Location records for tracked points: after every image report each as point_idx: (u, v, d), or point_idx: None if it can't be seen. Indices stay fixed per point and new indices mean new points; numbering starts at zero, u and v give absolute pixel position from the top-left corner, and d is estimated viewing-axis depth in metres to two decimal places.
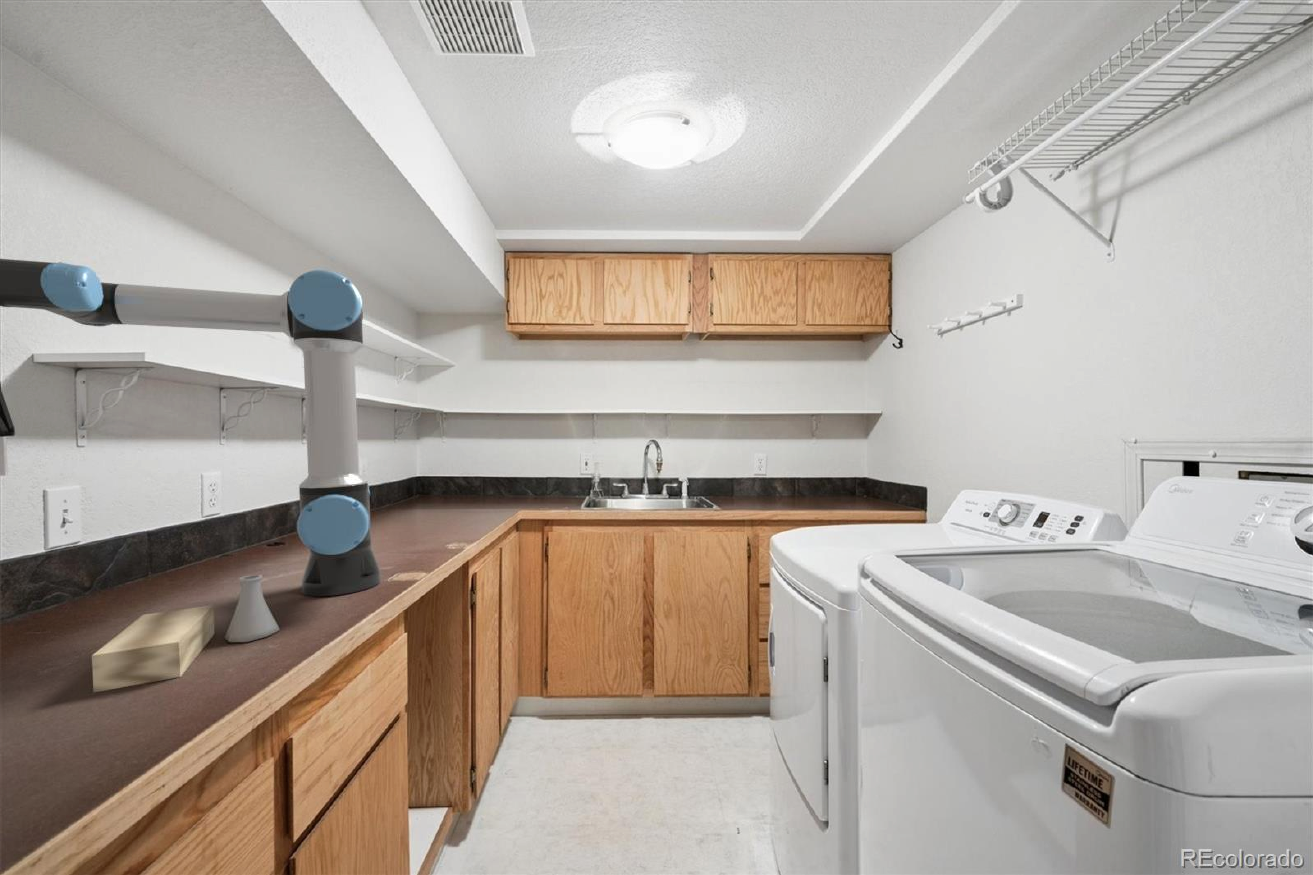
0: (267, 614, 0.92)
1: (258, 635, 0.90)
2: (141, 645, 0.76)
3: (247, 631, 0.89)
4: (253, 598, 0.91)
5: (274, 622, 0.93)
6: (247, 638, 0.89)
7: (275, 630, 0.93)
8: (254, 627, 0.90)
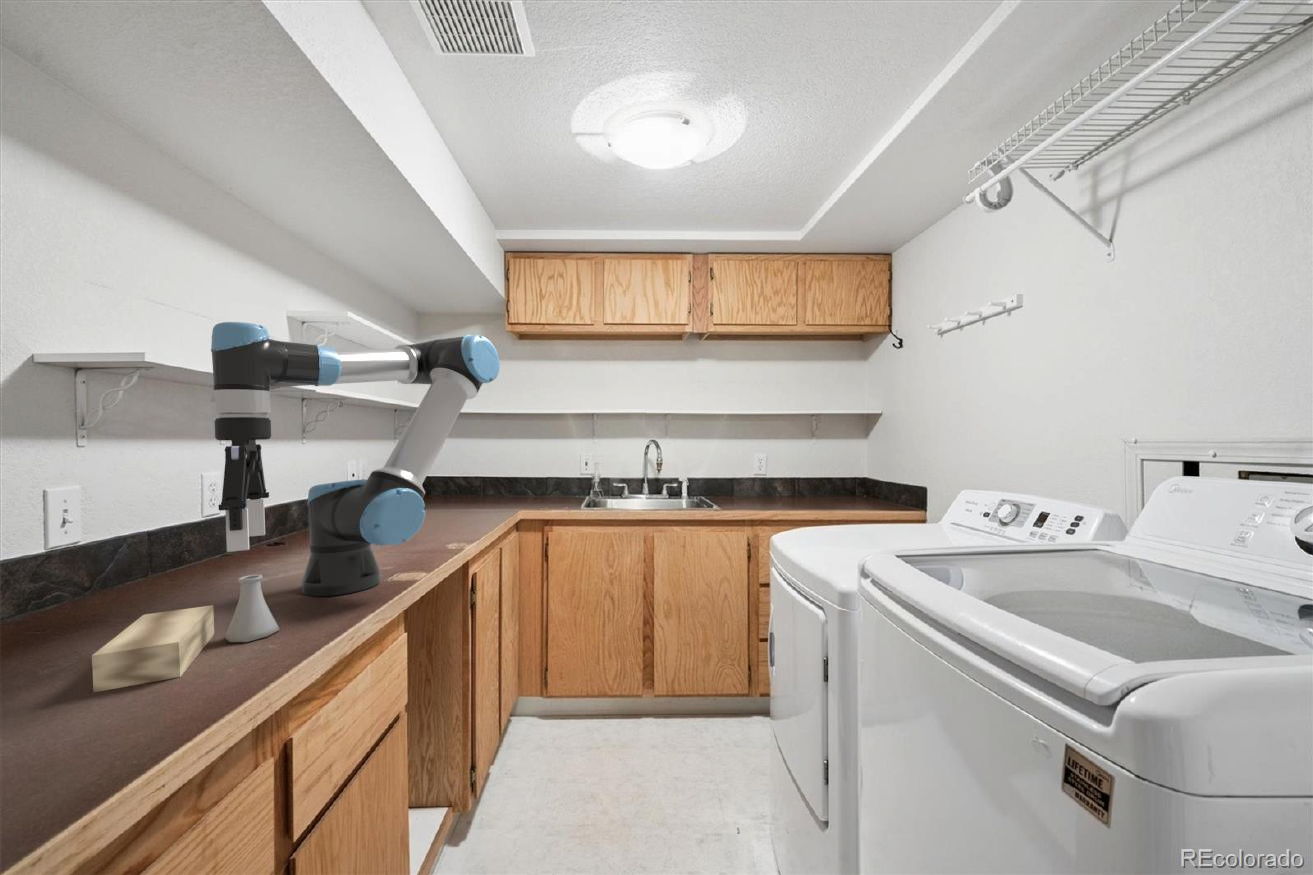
0: (267, 614, 0.92)
1: (258, 635, 0.90)
2: (141, 645, 0.76)
3: (247, 631, 0.89)
4: (253, 598, 0.91)
5: (274, 622, 0.93)
6: (247, 638, 0.89)
7: (275, 630, 0.93)
8: (254, 627, 0.90)
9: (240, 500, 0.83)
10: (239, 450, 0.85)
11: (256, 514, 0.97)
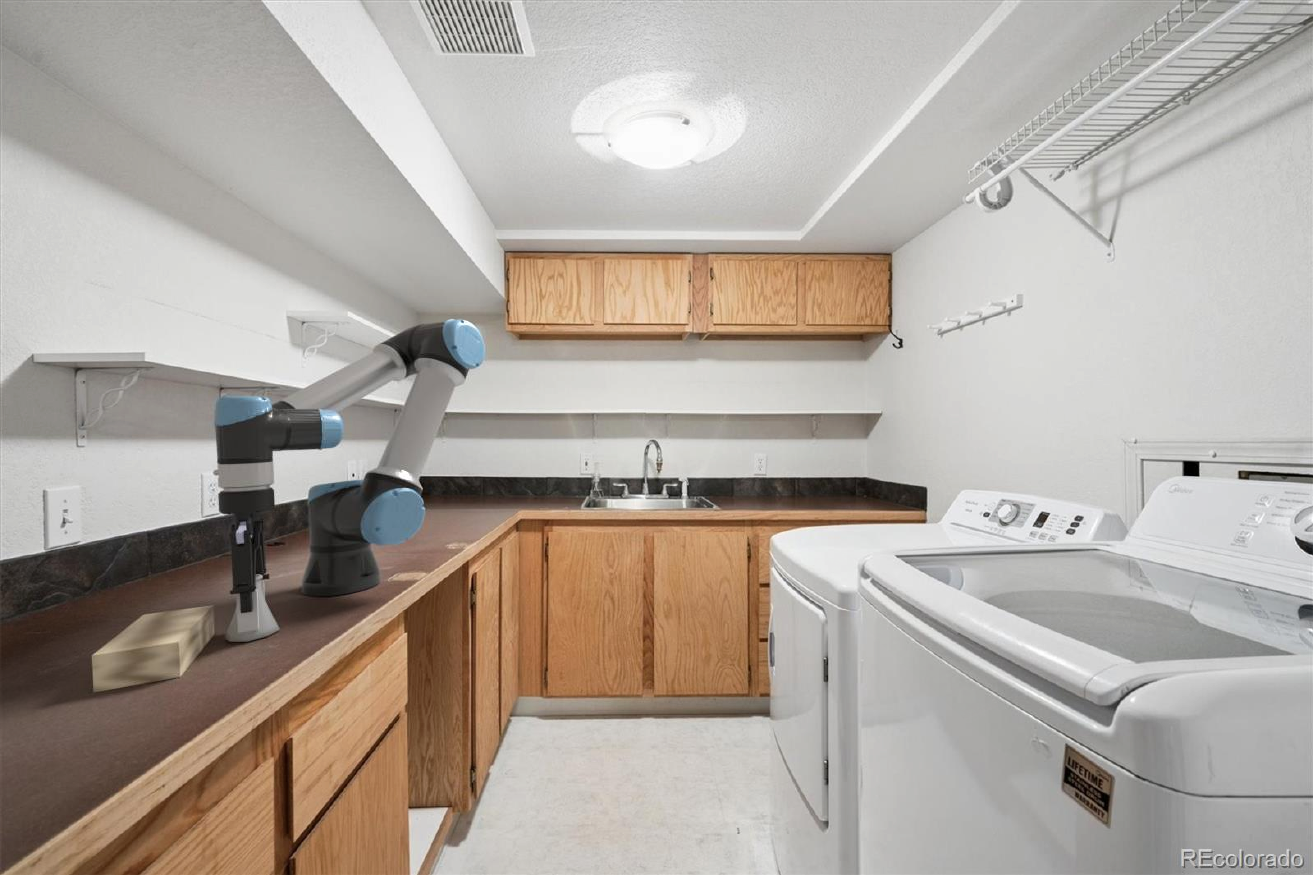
0: (267, 614, 0.92)
1: (258, 635, 0.90)
2: (141, 645, 0.76)
3: (247, 631, 0.89)
4: None
5: (274, 622, 0.93)
6: (247, 638, 0.89)
7: (275, 630, 0.93)
8: None
9: (250, 586, 0.87)
10: (244, 536, 0.86)
11: None
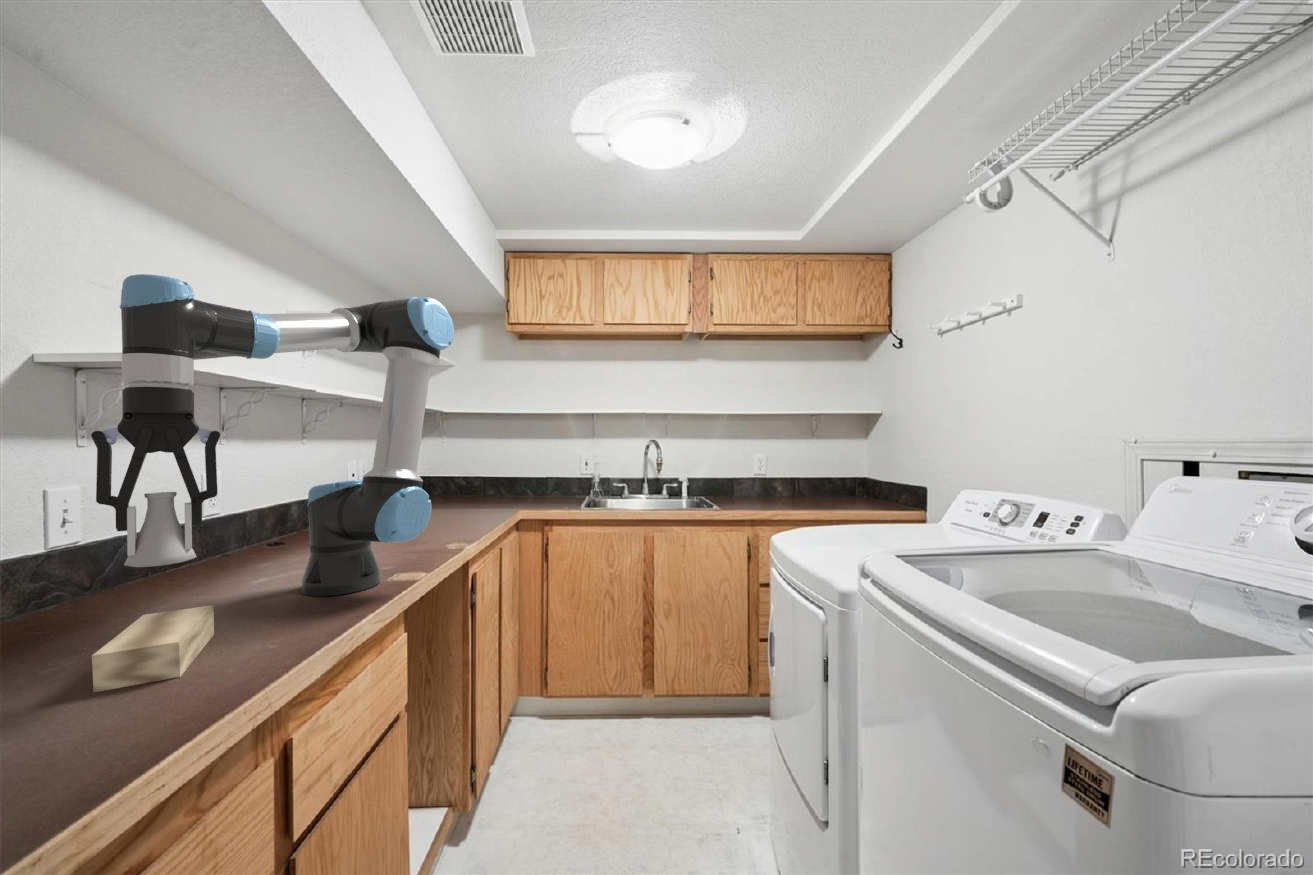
0: (153, 542, 0.75)
1: (131, 562, 0.74)
2: (141, 645, 0.76)
3: None
4: (148, 518, 0.76)
5: (156, 554, 0.74)
6: (126, 561, 0.75)
7: (151, 564, 0.74)
8: None
9: (96, 499, 0.72)
10: None
11: None
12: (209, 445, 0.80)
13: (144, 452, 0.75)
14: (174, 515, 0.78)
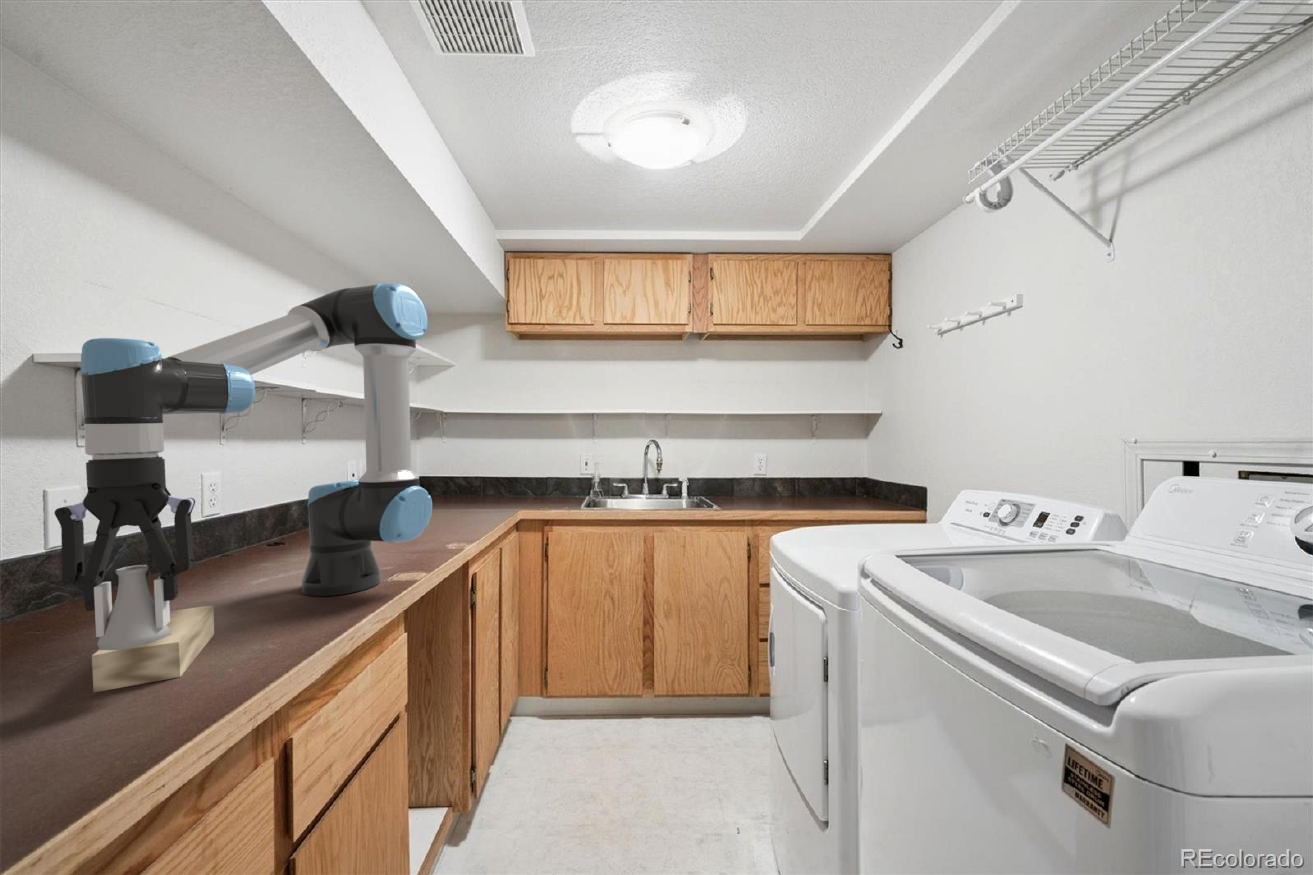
0: (119, 622, 0.71)
1: (100, 643, 0.70)
2: (141, 645, 0.76)
3: None
4: (118, 595, 0.72)
5: (121, 637, 0.70)
6: (99, 641, 0.71)
7: (115, 647, 0.70)
8: None
9: (62, 579, 0.69)
10: None
11: None
12: (178, 516, 0.74)
13: (108, 528, 0.70)
14: (146, 591, 0.73)
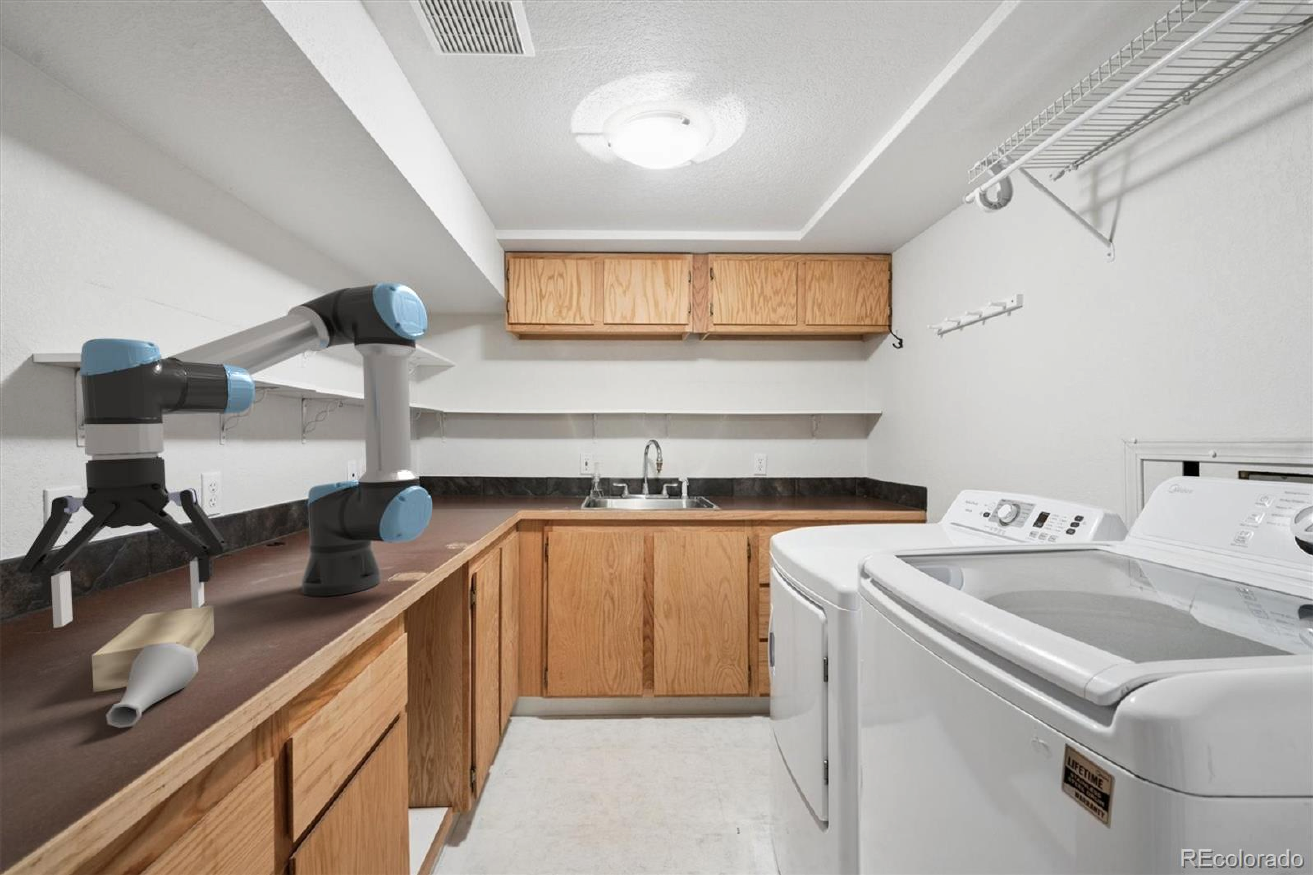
0: None
1: (137, 658, 0.71)
2: (141, 645, 0.76)
3: (142, 654, 0.70)
4: (127, 692, 0.66)
5: None
6: (145, 649, 0.71)
7: None
8: (137, 663, 0.70)
9: (19, 566, 0.67)
10: None
11: None
12: (186, 506, 0.74)
13: (96, 526, 0.70)
14: None
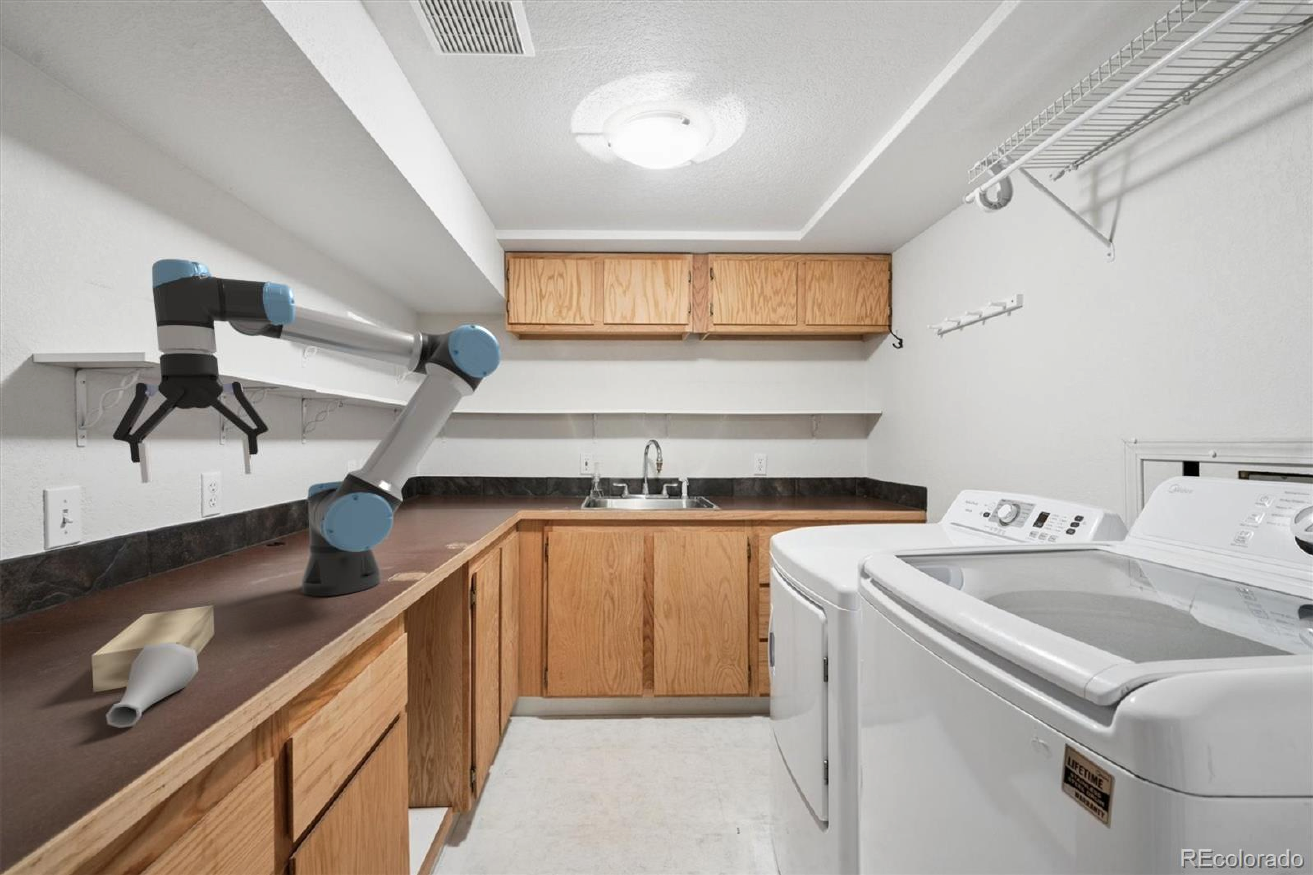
0: None
1: (137, 658, 0.71)
2: (141, 645, 0.76)
3: (142, 655, 0.70)
4: (126, 692, 0.66)
5: None
6: (144, 649, 0.71)
7: None
8: (137, 663, 0.70)
9: (114, 434, 0.87)
10: None
11: None
12: (237, 394, 0.95)
13: (170, 406, 0.90)
14: None
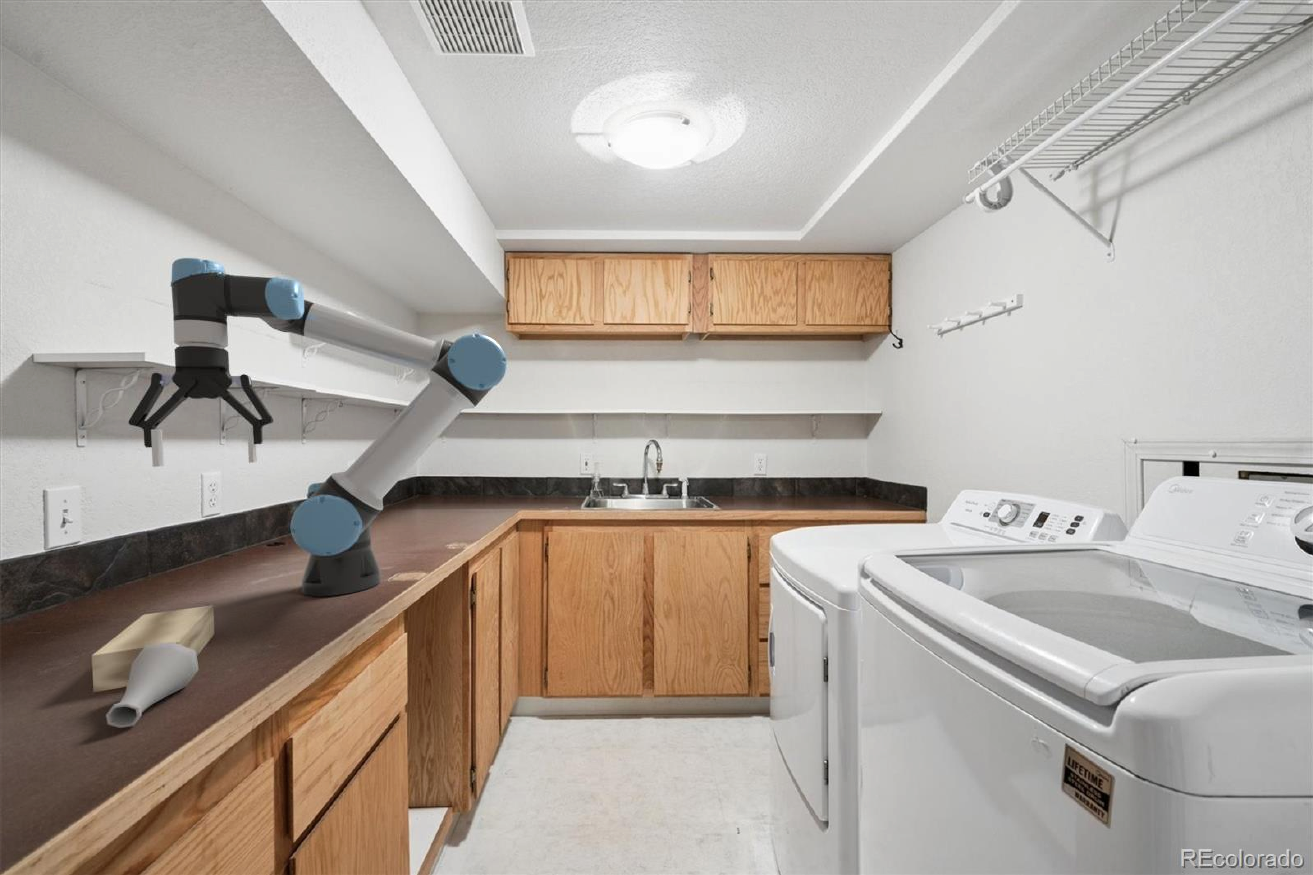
0: None
1: (137, 658, 0.71)
2: (141, 645, 0.76)
3: (142, 655, 0.70)
4: (126, 692, 0.66)
5: None
6: (144, 649, 0.71)
7: None
8: (137, 663, 0.70)
9: (129, 420, 0.93)
10: None
11: None
12: (245, 386, 1.00)
13: (182, 395, 0.96)
14: None
